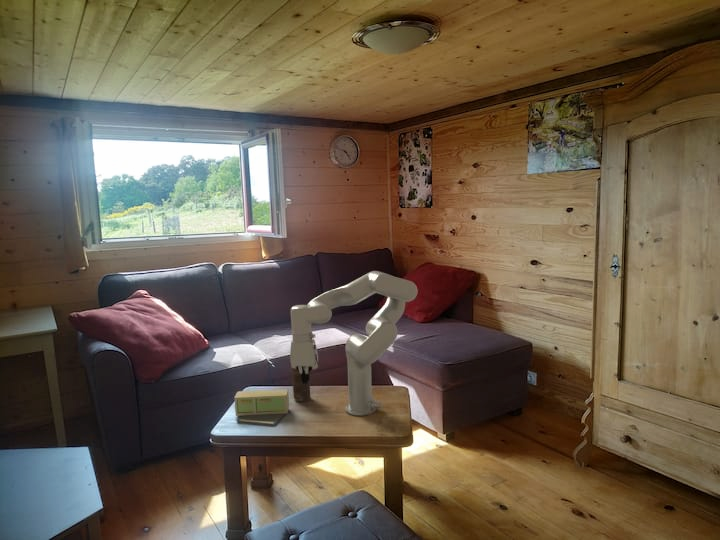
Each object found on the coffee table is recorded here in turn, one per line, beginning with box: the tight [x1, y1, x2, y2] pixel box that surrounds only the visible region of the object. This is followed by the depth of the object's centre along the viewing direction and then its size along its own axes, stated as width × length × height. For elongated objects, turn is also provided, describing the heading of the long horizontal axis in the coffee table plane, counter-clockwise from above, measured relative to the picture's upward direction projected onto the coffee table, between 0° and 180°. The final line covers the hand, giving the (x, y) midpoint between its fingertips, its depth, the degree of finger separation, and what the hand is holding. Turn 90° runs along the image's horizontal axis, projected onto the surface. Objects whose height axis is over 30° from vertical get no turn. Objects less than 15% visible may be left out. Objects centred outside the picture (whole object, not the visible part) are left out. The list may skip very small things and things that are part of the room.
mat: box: [236, 413, 287, 427], centre depth 198 cm, size 16×14×1 cm
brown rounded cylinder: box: [291, 366, 311, 403], centre depth 214 cm, size 8×7×20 cm
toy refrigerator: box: [234, 388, 290, 417], centre depth 201 cm, size 8×7×21 cm
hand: (305, 382), depth 192 cm, fingers closed
